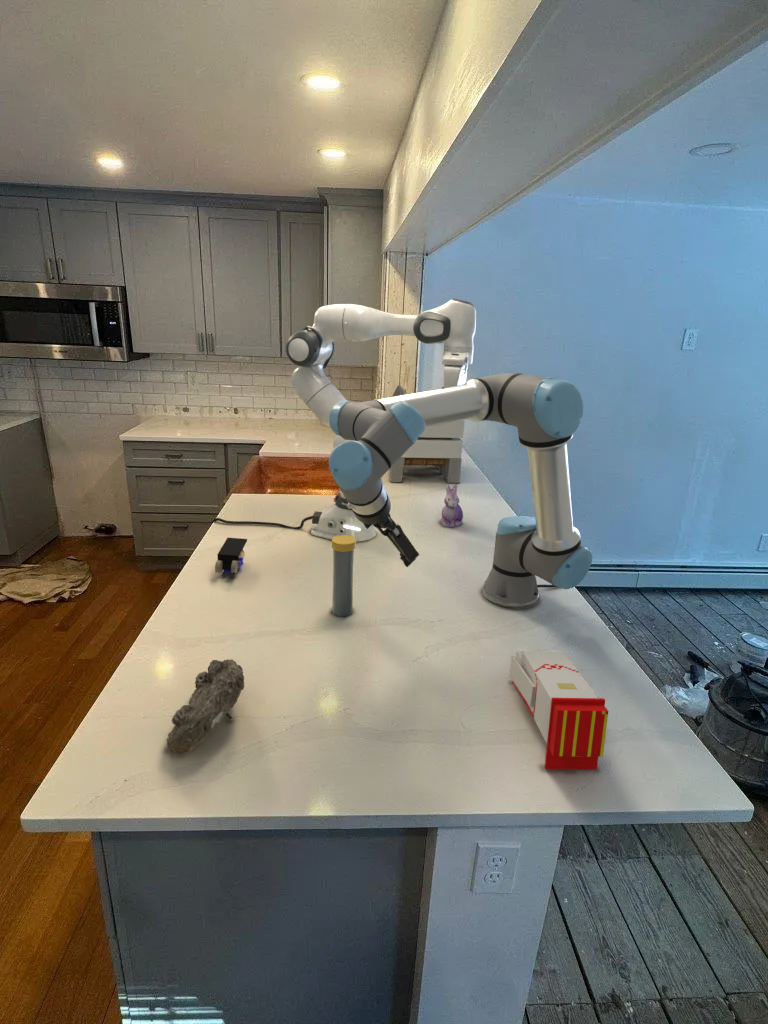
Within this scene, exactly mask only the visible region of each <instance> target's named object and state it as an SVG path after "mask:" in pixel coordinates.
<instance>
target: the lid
mask: <svg viewBox="0 0 768 1024" xmlns="http://www.w3.org/2000/svg"><path fill="white" fill-rule="evenodd" d="M356 544H357V542H356V539H355V538H354V537H352V536H348V535H339V536H335V537H333V538H332V540H331V549H332V550H333V549H334V550H336V551H340V552H348V551H352V550H354V551H355V549H356V547H357V545H356Z"/></svg>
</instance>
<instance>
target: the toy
mask: <svg viewBox="0 0 768 1024" xmlns="http://www.w3.org/2000/svg"><path fill="white" fill-rule="evenodd" d="M509 677H510V679H511V681H512V684H513V685H514V687H515V688H516V690H517V692H518V694H519V696H520V697H521V699H522V700H523V703H524V704H525V706H526V708H527V710H528V711H529V713H530V714H531V716H532V718H533V720H534V722H535V724H536V727H537V728H538V730H539V732H540V733H541V736H542V737H543V740H544V742H545V744H546V748H545V757H544V769H545V770H595V771H596V770H598V763H599V758H603V757H604V751H605V744H606V735H607V727H608V720H609V712H610V711H609V710H608V709H607V707H606V699H605V698H602V697H600V698H599V696H598V695H597V694H596V692H595V691H594V690H593V688H592V687H591V686H590V684H589V683H588V682H587V680H586V679H585V678H584V676H583V675H582V674H581V673H580V671H579V669H577V667H576V666H575V664H574V663H573V662H572V660H571V659H570V657H569V656H567V654H566V653H565V651H564V650H532V649H531V650H528V649H526V650H524V649H523V650H516V652H515V656H511V659H510V667H509Z"/></svg>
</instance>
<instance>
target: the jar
mask: <svg viewBox="0 0 768 1024" xmlns="http://www.w3.org/2000/svg"><path fill="white" fill-rule="evenodd" d="M354 564H355V549H354V550H352V551H348V552H340V551H336V550H334V549H332V601H331V602H332V605H331V607H332V608H331V609H332V610H331V611H332V614H334V615H335V616H338V617H347V616H349V615H351V614H352V613H353V602H354V600H353V599H354V568H355V567H354Z"/></svg>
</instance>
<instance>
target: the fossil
mask: <svg viewBox="0 0 768 1024" xmlns="http://www.w3.org/2000/svg"><path fill="white" fill-rule="evenodd" d="M243 670H244V669H243V667H242V665H240V664H237V662H236V661H235V660H234V659H232V658H231V659H227V658H226V659H224V660H223V661H222V660H217V659H212V660H211V661H210V663H209V665H208V666H207V671H201V672H199V673H198V674H197V675H196V676H195V680H194V684H195V685H194V687H195V689H194V690H193V693H192V694H191V697H190V698H189V700H188V704H184V705H182V706H181V707H180V709H177V710H176V711H175V713H174V715H173V716H172V718H171V723H172V724H173V727H172V730H171V731H170V732H168V734H167V738H166V741H167V742H166V745H167V749H168V750H169V751H173V752H174V753H176V754H178V753H182V752H188V751H189V752H192V751H193V750H195V748H196V747H197V746H199V744H200V743H201V742H203V741H204V740H205V739H206V738H207V737H208V736H209V735H210V734H211V733H212V732H214V730H215V729H217V727H218V726H219V724H220V722H221V721H222V720H223V719H224V718H225V716H226V717H227V719H229V720H233V717H232V715H230V714H229V710H230V709H231V708H234V706H235V704H236V703H237V702H238V699H239V697H240V695H241V693H242V691H243V690H245V689H244V688H245V675H244V671H243Z"/></svg>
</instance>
